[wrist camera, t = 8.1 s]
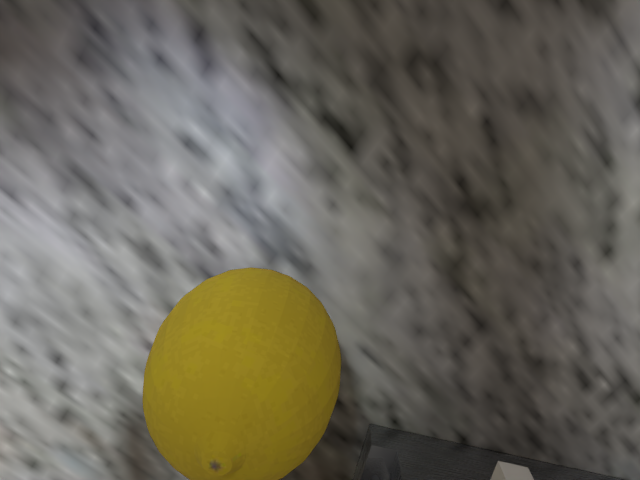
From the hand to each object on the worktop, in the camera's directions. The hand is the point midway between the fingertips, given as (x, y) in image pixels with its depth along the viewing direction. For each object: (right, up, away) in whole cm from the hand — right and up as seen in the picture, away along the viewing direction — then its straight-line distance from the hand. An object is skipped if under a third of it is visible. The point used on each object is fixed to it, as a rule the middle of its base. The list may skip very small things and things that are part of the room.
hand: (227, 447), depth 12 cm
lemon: (0, +3, +7) cm, 7 cm away
